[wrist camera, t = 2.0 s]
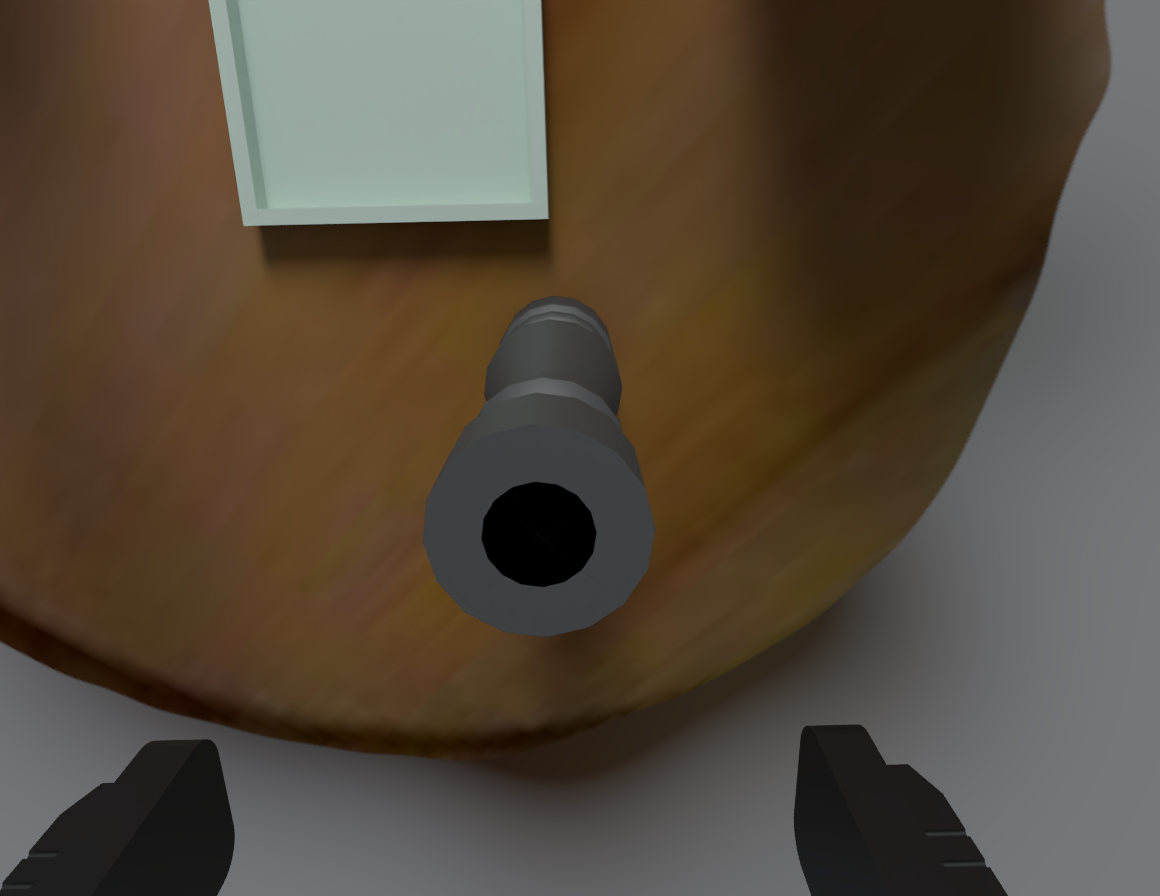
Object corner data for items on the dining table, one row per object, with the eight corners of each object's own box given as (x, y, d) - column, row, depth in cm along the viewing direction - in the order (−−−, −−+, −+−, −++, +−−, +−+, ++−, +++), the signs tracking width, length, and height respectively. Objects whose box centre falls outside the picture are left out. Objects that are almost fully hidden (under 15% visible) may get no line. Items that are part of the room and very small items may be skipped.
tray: (259, 225, 39) (243, 225, 37) (208, -120, 35) (186, -140, 33) (549, 218, 39) (548, 219, 38) (538, -127, 35) (536, -147, 33)
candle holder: (561, 425, 43) (551, 688, 19) (480, 355, 42) (360, 545, 18) (633, 346, 42) (718, 525, 18) (551, 272, 40) (524, 358, 17)
